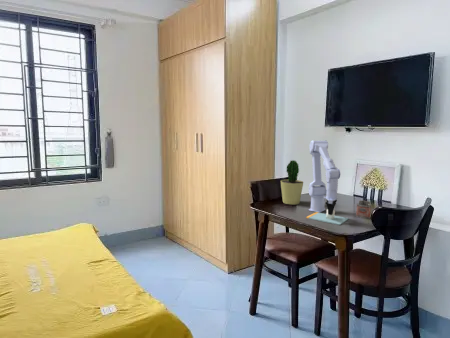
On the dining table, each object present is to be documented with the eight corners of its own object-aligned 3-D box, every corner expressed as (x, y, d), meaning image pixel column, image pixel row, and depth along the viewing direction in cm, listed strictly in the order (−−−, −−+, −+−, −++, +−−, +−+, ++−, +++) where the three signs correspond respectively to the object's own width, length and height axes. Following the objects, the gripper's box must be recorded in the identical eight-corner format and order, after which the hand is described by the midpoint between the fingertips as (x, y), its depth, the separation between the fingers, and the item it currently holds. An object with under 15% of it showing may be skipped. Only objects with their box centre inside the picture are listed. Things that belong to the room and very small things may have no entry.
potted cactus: (287, 198, 236) (288, 157, 231) (306, 202, 226) (308, 159, 221) (275, 202, 224) (276, 159, 220) (295, 206, 214) (297, 161, 210)
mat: (316, 213, 199) (316, 212, 199) (348, 219, 187) (348, 218, 187) (306, 218, 188) (306, 217, 188) (339, 225, 176) (339, 223, 176)
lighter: (354, 216, 193) (356, 200, 191) (357, 215, 195) (358, 199, 194) (369, 219, 187) (370, 202, 186) (371, 217, 190) (372, 201, 188)
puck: (326, 216, 189) (327, 208, 189) (334, 217, 188) (335, 209, 187) (325, 218, 185) (326, 210, 184) (334, 219, 183) (334, 211, 183)
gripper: (325, 187, 192) (324, 209, 194) (323, 191, 179) (322, 215, 181) (338, 188, 189) (337, 210, 191) (336, 192, 176) (335, 217, 178)
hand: (330, 213), depth 186 cm, fingers open, 5 cm apart
